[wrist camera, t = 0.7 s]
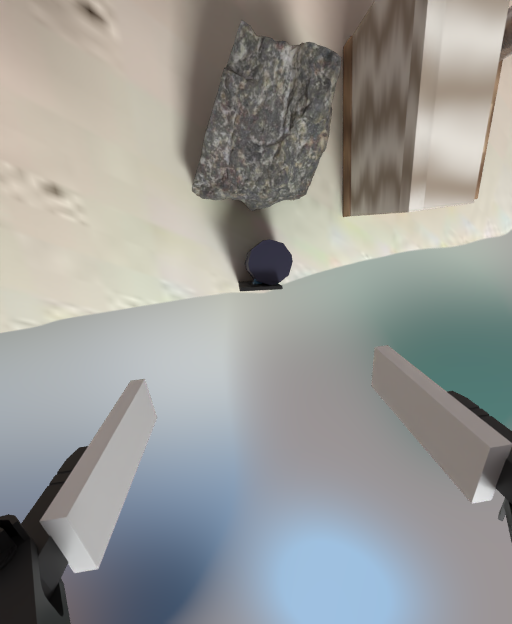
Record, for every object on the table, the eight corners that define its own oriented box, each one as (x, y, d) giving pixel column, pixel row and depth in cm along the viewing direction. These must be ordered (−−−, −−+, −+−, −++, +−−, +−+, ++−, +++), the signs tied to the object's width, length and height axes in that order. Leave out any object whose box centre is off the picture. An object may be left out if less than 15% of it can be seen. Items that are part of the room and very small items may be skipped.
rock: (354, 60, 28) (231, -17, 24) (393, 91, 21) (223, -15, 16) (284, 201, 42) (198, 169, 38) (292, 250, 34) (185, 218, 30)
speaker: (270, 294, 40) (281, 307, 30) (237, 283, 39) (237, 294, 29) (285, 249, 39) (302, 248, 29) (251, 238, 38) (257, 232, 28)
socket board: (343, 47, 30) (433, -98, 17) (493, 31, 31) (697, -121, 17) (343, 216, 37) (406, 212, 24) (465, 199, 38) (594, 186, 24)
